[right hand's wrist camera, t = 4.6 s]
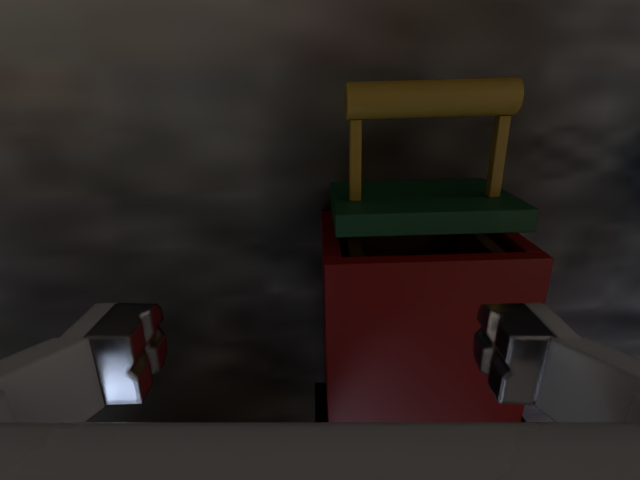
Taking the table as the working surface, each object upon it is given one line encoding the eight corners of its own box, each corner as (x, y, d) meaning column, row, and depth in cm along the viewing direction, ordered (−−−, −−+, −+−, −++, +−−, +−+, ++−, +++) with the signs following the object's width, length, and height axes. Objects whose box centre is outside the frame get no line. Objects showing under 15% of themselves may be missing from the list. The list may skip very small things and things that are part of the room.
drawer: (327, 82, 24) (333, 81, 17) (494, 78, 24) (563, 75, 17) (332, 380, 32) (337, 457, 25) (458, 376, 32) (495, 452, 25)
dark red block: (320, 210, 28) (323, 264, 19) (482, 205, 28) (554, 258, 19) (325, 405, 34) (329, 510, 25) (457, 401, 34) (504, 504, 26)
